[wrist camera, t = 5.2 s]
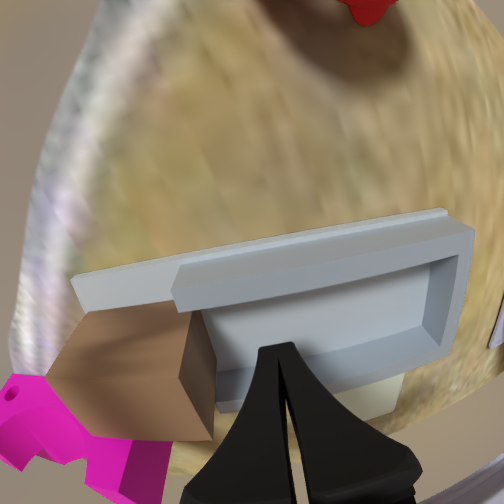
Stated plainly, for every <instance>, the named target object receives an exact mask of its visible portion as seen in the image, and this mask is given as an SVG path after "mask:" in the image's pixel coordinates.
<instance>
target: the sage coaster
mask: <svg viewBox="0 0 504 504" xmlns="http://www.w3.org/2000/svg"><path fill="white" fill-rule="evenodd" d="M404 374H405V373H402V374H399V375H396V376H393V377H390V378H387V379H384V380H381V381H378V382H375V383H372V384H369V385H365V386H362V387H358V388H355V389H351V390H348V391H344V392H340V393H336V394H332V395H333V396H334V397H335V398H336V399H337V400H338V401H339V402H340V403H341V404H342V405H344V406H345V407H346V408H347V409H348V410H349V411H351V412H352V413H353V414H354V415H356V416H357V417H358V418H360V419H361V420H363V421H366V420H369V419H373V418H376V417H379V416H382V415H384V414H387V413H390V412H393V411H394V409H395V406H396V403H397V399H398V396H399V393H400V389H401V386H402V382H403V378H404Z"/></svg>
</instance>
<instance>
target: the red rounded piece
mask: <svg viewBox="0 0 504 504" xmlns="http://www.w3.org/2000/svg"><path fill="white" fill-rule="evenodd" d="M337 1H340V2H342V3H345V4H348V5H349V7H350V11H351V13H352V16H353V18H354V19H355V21H356V22H357V23H358V24H359V25H361V26H371V25H373V24H375V23H376V22H377V21H378V20H379V19H380V18H381V17H382V16H383V15H384V13H385V12H386V10H387V8H388V6H389V5H391V4H393V3H395V2H396V1H398V0H337Z"/></svg>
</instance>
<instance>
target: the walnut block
mask: <svg viewBox="0 0 504 504" xmlns="http://www.w3.org/2000/svg"><path fill="white" fill-rule="evenodd" d="M216 370H217V358H216V355H215V353H214V350H213V347H212V344H211V341H210V338H209V335H208V332H207V329H206V326H205V323H204V320H203V317H202V314H201V311H200V310H194V311H188V312H181V313H178V310H177V307H176V305H175V302H174V300H168V301H161V302H155V303H148V304H141V305H134V306H127V307H120V308H112V309H105V310H97V311H89V312H87V314H86V315H85V317H84V318H83V319H82V321H81V322H80V324H79V325H78V327H77V328H76V330H75V331H74V332H73V334H72V335H71V337H70V338H69V340H68V341H67V343H66V344H65V346H64V347H63V349H62V350H61V352H60V354H59V355H58V357H57V358H56V360H55V361H54V363H53V365H52V366H51V368H50V369H49V371H48V373H47V374H46V376H45V379H46V381H47V382H48V383H49V385H50V386H51V388H52V389H53V390H54V391H55V393H56V394H57V395H58V397H59V398H60V399H61V400H62V402H63V403H64V404H65V405H66V407H67V408H68V409H69V410H70V411H71V413H72V414H73V415H74V416H75V417H76V418H77V419H78V421H79V422H80V423H81V424H82V425H83V426H84V427H85V428H86V429H87V430H88V432H89V433H90V434H91V435H92V436H99V437H107V438H117V439H128V440H144V441H206V440H213V424H214V404H215V386H216Z"/></svg>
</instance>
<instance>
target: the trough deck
mask: <svg viewBox="0 0 504 504" xmlns="http://www.w3.org/2000/svg"><path fill="white" fill-rule="evenodd" d="M474 236H475V229H473V228H472V227H470V226H468V225H466V224H464V223H462V222H460V221H458V220H456V219H454V218H452V217H450V216H448V210H445V209H443V208H435V209H429V210H423V211H417V212H411V213H405V214H399V215H393V216H387V217H381V218H375V219H369V220H364V221H358V222H352V223H346V224H341V225H335V226H329V227H324V228H318V229H313V230H307V231H301V232H296V233H290V234H285V235H279V236H274V237H268V238H263V239H258V240H252V241H247V242H241V243H236V244H231V245H225V246H220V247H215V248H210V249H204V250H199V251H194V252H189V253H183V254H178V255H173V256H168V257H163V258H158V259H153V260H147V261H142V262H137V263H132V264H127V265H122V266H117V267H112V268H107V269H102V270H97V271H92V272H88V273H83V274H78V275H75V276H74V277H73V278H72V279H71V280H70V281H71V283H72V285H73V288H74V290H75V292H76V294H77V297H78V299H79V301H80V303H81V305H82V308H83V310H84V312H85V314H87V312H89V311H97V310H105V309H112V308H120V307H127V306H134V305H141V304H148V303H155V302H161V301H168V300H174V302H175V305H176V307H177V310H178V313H181V312H188V311H194V310H200V311H201V314H202V317H203V320H204V323H205V326H206V329H207V332H208V335H209V338H210V341H211V344H212V347H213V350H214V353H215V355H216V358H217V370H216V386H215V387H216V396H215V403H216V405H217V407H218V410H219V412H220V413H230V412H239V411H240V409H241V407H242V405H243V403H244V400H245V398H246V395H247V393H248V390H249V387H250V384H251V381H252V377H253V374H254V370H255V366H256V362H257V356H258V349H259V348H260V347H262V346H268V345H273V344H279V343H284V342H289V341H292V342H294V344H295V346H296V348H297V350H298V352H299V354H300V355H301V357H302V358H303V360H304V361H305V363H306V364H307V366H308V367H309V368H310V370H311V371H312V372H313V374H314V375H315V376H316V377H317V379H318V380H319V381H320V382H321V383H322V384H323V386H324V387H325V388H326V389H327V390H328V391H329V392H330V393H331V394H336V393H340V392H344V391H348V390H351V389H355V388H358V387H362V386H365V385H369V384H372V383H375V382H378V381H381V380H384V379H387V378H390V377H393V376H396V375H399V374H402V373H405V372H407V371H410V370H413V369H415V368H418V367H421V366H423V365H426V364H428V363H431V362H433V361H435V360H438V359H440V358H442V357H445V356H447V355H449V353H450V350H451V347H452V344H453V341H454V337H455V334H456V330H457V327H458V323H459V319H460V315H461V311H462V307H463V303H464V298H465V294H466V289H467V284H468V278H469V273H470V267H471V260H472V253H473V245H474ZM285 400H286V399H285ZM286 404H287V403H286Z"/></svg>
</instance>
